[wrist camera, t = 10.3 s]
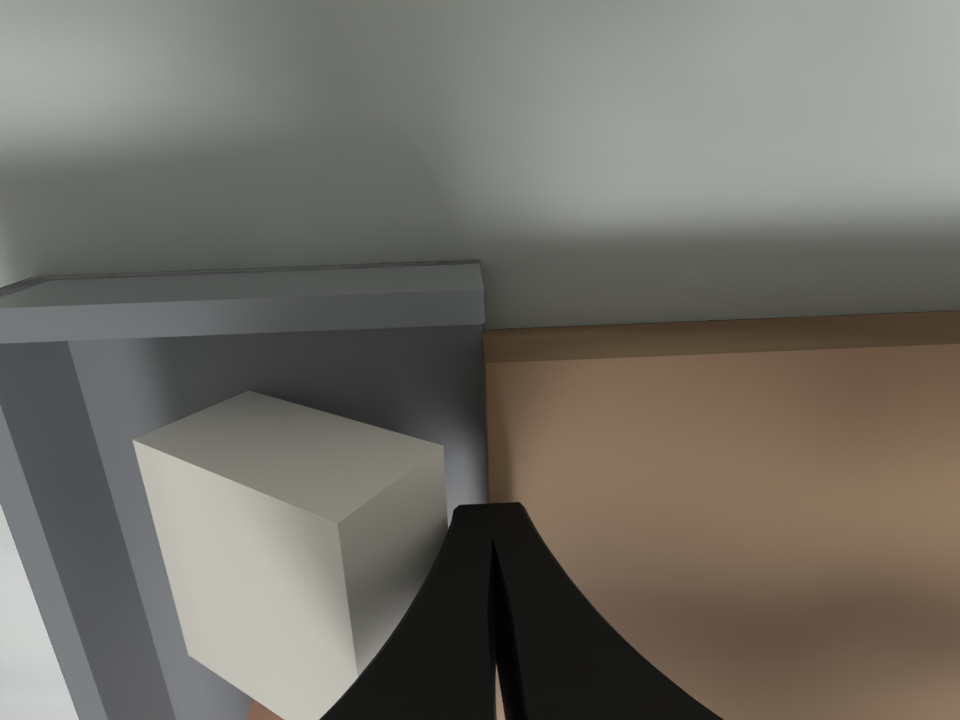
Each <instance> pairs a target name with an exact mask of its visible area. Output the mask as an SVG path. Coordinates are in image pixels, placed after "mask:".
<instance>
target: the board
mask: <svg viewBox="0 0 960 720" xmlns="http://www.w3.org/2000/svg"><path fill="white" fill-rule="evenodd" d="M482 338H483V368H484V398H485V429H486V459H487V490H488V503H509V502H520V503H521V504H522V505H523V506H524V507H525V508H526V511H527V513H528V515H529V517H530V519H531V521H532V522H533V524H534V526H535V528H536V529H537V531H538V533H539V534H540V536H541V537H542V539H543V541H544V542H545V544H546V545H547V547H548V548H549V550H550V551H551V553H552V554H553V555H554V557H555V558H556V560H557V561H558V562H559V564H560V565H561V566H562V568H563V569H564V571H565V572H566V573H567V575H568V576H569V577H570V579H571V580H572V581H573V582H574V584H575V585H576V586H577V587H578V589H579V590H580V591H581V592H582V593H583V595H584V596H585V597H586V598H587V599H588V600H589V602H590V603H591V604H592V605H593V606H594V607H595V609H596V610H597V611H598V612H599V613H600V614H601V615H602V616H603V617H604V618H605V620H606V621H607V622H608V623H609V624H610V625H611V626H612V627H613V628H614V629H615V630H616V631H617V632H618V633H619V634H620V635H621V636H622V637H623V638H624V639H625V640H626V641H627V642H628V643H629V644H630V645H631V646H632V647H633V648H635V649H636V650H637V651H638V652H639V653H640V654H641V655H642V656H643V657H644V658H645V659H646V660H648V661H649V662H650V663H651V664H652V665H653V666H654V667H656V668H657V669H658V670H659V671H661V672H662V673H663V674H664V675H666V676H667V677H668V678H669V679H670V680H672V681H673V682H674V683H675V684H677V685H678V686H679V687H680V688H682V689H683V690H684V691H685V692H686V693H688V694H689V695H690V696H691V697H693V698H694V699H695V700H697V701H698V702H700V703H701V704H702V705H704V706H705V707H707V708H708V709H709V710H711V711H712V712H714V713H715V714H716V715H718V716H719V717H721V718H722V719H723V720H960V311H939V312H914V313H889V314H865V315H840V316H816V317H791V318H766V319H742V320H717V321H692V322H668V323H643V324H618V325H594V326H569V327H544V328H520V329H495V330H482ZM495 720H505V715H504V709H503V702H502V696H501V690H500V684H499V677H498V671H497V665H496V684H495Z"/></svg>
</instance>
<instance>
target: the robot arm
mask: <svg viewBox="0 0 960 720" xmlns="http://www.w3.org/2000/svg"><path fill="white" fill-rule="evenodd" d="M496 665H497V671H498V677H499V684H500V690H501V696H502V702H503V709H504V715H505V720H723V719H722V718H721V717H719V716H718V715H716V714H715V713H714V712H712V711H711V710H709V709H708V708H707V707H705V706H704V705H702V704H701V703H700V702H698V701H697V700H695V699H694V698H693V697H691V696H690V695H689V694H688V693H686V692H685V691H684V690H683V689H682V688H680V687H679V686H678V685H677V684H675V683H674V682H673V681H672V680H670V679H669V678H668V677H667V676H666V675H664V674H663V673H662V672H661V671H659V670H658V669H657V668H656V667H654V666H653V665H652V664H651V663H650V662H649V661H648V660H646V659H645V658H644V657H643V656H642V655H641V654H640V653H639V652H638V651H637V650H636V649H635V648H633V647H632V646H631V645H630V644H629V643H628V642H627V641H626V640H625V639H624V638H623V637H622V636H621V635H620V634H619V633H618V632H617V631H616V630H615V629H614V628H613V627H612V626H611V625H610V624H609V623H608V622H607V621H606V620H605V618H604V617H603V616H602V615H601V614H600V613H599V612H598V611H597V610H596V609H595V607H594V606H593V605H592V604H591V603H590V602H589V600H588V599H587V598H586V597H585V596H584V595H583V593H582V592H581V591H580V590H579V589H578V587H577V586H576V585H575V584H574V582H573V581H572V580H571V579H570V577H569V576H568V575H567V573H566V572H565V571H564V569H563V568H562V566H561V565H560V564H559V562H558V561H557V560H556V558H555V557H554V555H553V554H552V553H551V551H550V550H549V548H548V547H547V545H546V544H545V542H544V541H543V539H542V537H541V536H540V534H539V533H538V531H537V529H536V528H535V526H534V524H533V522H532V521H531V519H530V517H529V515H528V513H527V511H526V508H525V507H524V506H523V505H522V504H521V503H520V502H509V503H487V504H464V505H458V506H457V507H456V508H455V509H454V510H453V515H452V519H451V523H450V526H449V529H448V531H447V534H446V537H445V539H444V541H443V544H442V546H441V549H440V551H439V553H438V555H437V557H436V559H435V561H434V563H433V565H432V567H431V569H430V571H429V573H428V575H427V577H426V579H425V581H424V583H423V584H422V586H421V588H420V589H419V591H418V593H417V595H416V596H415V598H414V600H413V601H412V603H411V605H410V606H409V608H408V610H407V611H406V613H405V615H404V616H403V618H402V619H401V621H400V622H399V624H398V625H397V627H396V628H395V630H394V631H393V633H392V634H391V635H390V637H389V638H388V640H387V641H386V642H385V644H384V645H383V646H382V648H381V649H380V650H379V652H378V653H377V654H376V656H375V657H374V658H373V659H372V661H371V662H370V663H369V664H368V666H367V667H366V668H365V669H364V671H363V672H362V673H361V674H360V675H359V677H358V678H357V679H356V680H355V682H354V683H353V684H352V685H351V686H350V687H349V689H348V690H347V691H346V692H345V693H344V694H343V695H342V696H341V698H340V699H339V700H338V701H337V702H336V703H335V704H334V705H333V706H332V707H331V708H330V709H329V710H328V711H327V712H326V713H325V714H324V715H323V716H322V717H321V718H320V719H319V720H494V715H495V684H496Z"/></svg>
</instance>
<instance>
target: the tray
mask: <svg viewBox="0 0 960 720" xmlns="http://www.w3.org/2000/svg"><path fill="white" fill-rule="evenodd" d="M482 324H485V305H484V286H483V280H482V273H481V267H480V260H462V261H436V262H410V263H384V264H358V265H332V266H307V267H281V268H255V269H229V270H203V271H177V272H151V273H125V274H99V275H73V276H47V277H31V278H28V279H25V280H22V281H19V282H16V283H13V284H10V285H7V286H4V287H1V288H0V504H1V506H2V509H3V512H4V514H5V517H6V520H7V523H8V525H9V528H10V531H11V534H12V536H13V539H14V542H15V545H16V547H17V550H18V553H19V556H20V558H21V561H22V564H23V567H24V569H25V572H26V575H27V578H28V580H29V583H30V586H31V589H32V591H33V594H34V597H35V600H36V602H37V605H38V608H39V611H40V613H41V616H42V619H43V622H44V624H45V627H46V630H47V633H48V635H49V638H50V641H51V644H52V646H53V649H54V652H55V655H56V657H57V660H58V663H59V666H60V668H61V671H62V674H63V676H64V679H65V682H66V685H67V687H68V690H69V693H70V696H71V698H72V701H73V704H74V707H75V709H76V712H77V715H78V718H79V720H246V719H247V716H248V713H249V711H250V708H251V705H252V702H253V700H254V699H253V698H252V697H250V696H249V695H247V694H246V693H244V692H243V691H241V690H240V689H238V688H237V687H235V686H234V685H232V684H231V683H229V682H228V681H226V680H225V679H223V678H222V677H220V676H219V675H217V674H216V673H214V672H213V671H211V670H210V669H208V668H207V667H205V666H204V665H203V664H201V663H200V662H198V661H197V660H195V659H194V658H192V657H191V656H189V655H188V652H187V648H186V644H185V640H184V636H183V633H182V629H181V625H180V621H179V617H178V613H177V610H176V606H175V602H174V598H173V594H172V590H171V586H170V583H169V579H168V575H167V571H166V567H165V563H164V560H163V556H162V552H161V548H160V544H159V540H158V537H157V533H156V529H155V525H154V521H153V517H152V513H151V510H150V506H149V502H148V498H147V494H146V490H145V487H144V483H143V479H142V475H141V471H140V467H139V463H138V460H137V456H136V452H135V448H134V444H133V439H135V438H138V437H140V436H142V435H145V434H147V433H150V432H152V431H154V430H157V429H159V428H161V427H164V426H166V425H168V424H171V423H173V422H175V421H178V420H180V419H183V418H185V417H187V416H190V415H192V414H194V413H197V412H199V411H201V410H204V409H206V408H209V407H211V406H213V405H216V404H218V403H220V402H223V401H225V400H227V399H230V398H232V397H234V396H237V395H239V394H242V393H244V392H246V391H249V390H250V391H253V392H257V393H260V394H264V395H267V396H271V397H274V398H278V399H281V400H285V401H288V402H292V403H295V404H299V405H302V406H306V407H309V408H313V409H316V410H320V411H323V412H327V413H330V414H334V415H337V416H341V417H344V418H348V419H351V420H355V421H359V422H362V423H366V424H369V425H373V426H376V427H380V428H383V429H387V430H390V431H394V432H397V433H401V434H404V435H408V436H411V437H415V438H418V439H422V440H425V441H429V442H432V443H436V444H439V445H443V449H444V466H445V484H446V501H447V518H448V529H449V526H450V523H451V519H452V515H453V510H454V509H455V508H456V507H457V506H458V505H464V504H487V503H488V490H487V459H486V429H485V398H484V368H483V338H482ZM494 720H495V715H494Z"/></svg>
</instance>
